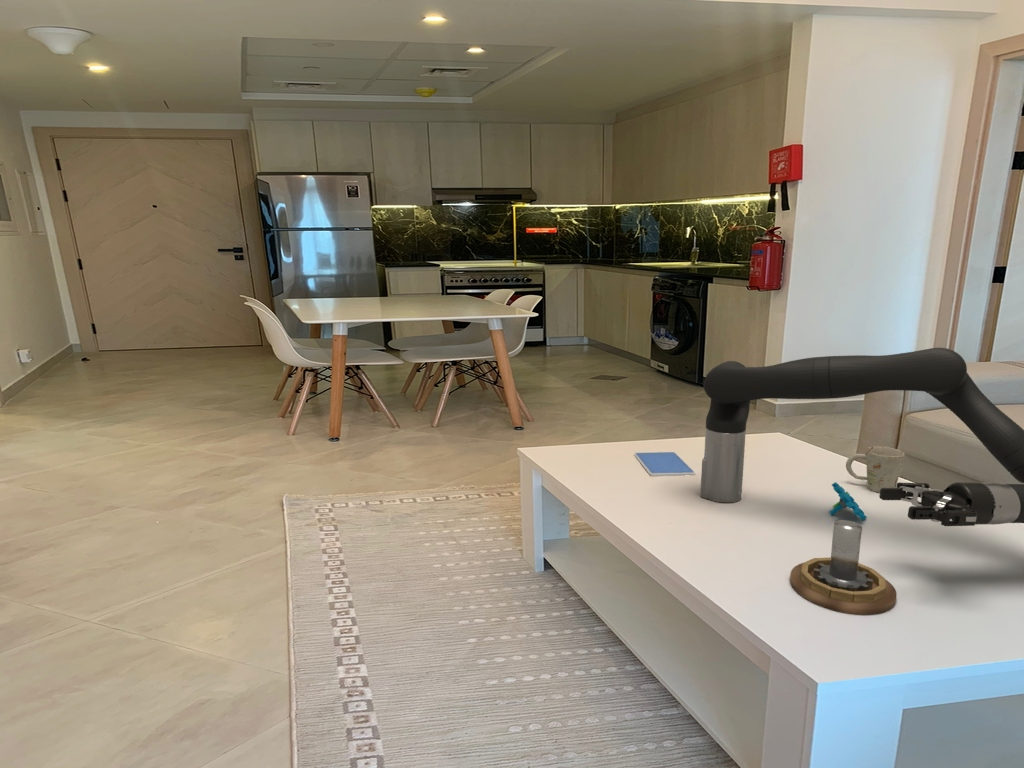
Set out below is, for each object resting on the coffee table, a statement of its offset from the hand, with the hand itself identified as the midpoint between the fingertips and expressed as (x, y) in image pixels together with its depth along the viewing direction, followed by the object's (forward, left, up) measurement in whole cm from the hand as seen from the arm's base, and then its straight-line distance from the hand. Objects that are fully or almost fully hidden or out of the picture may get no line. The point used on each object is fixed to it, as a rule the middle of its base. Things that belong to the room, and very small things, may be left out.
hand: (894, 503), depth 120 cm
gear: (-7, +29, -15) cm, 33 cm away
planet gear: (-7, -8, -13) cm, 17 cm away
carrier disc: (-7, -8, -15) cm, 18 cm away
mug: (-1, +51, -15) cm, 53 cm away
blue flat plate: (-53, +47, -15) cm, 73 cm away
